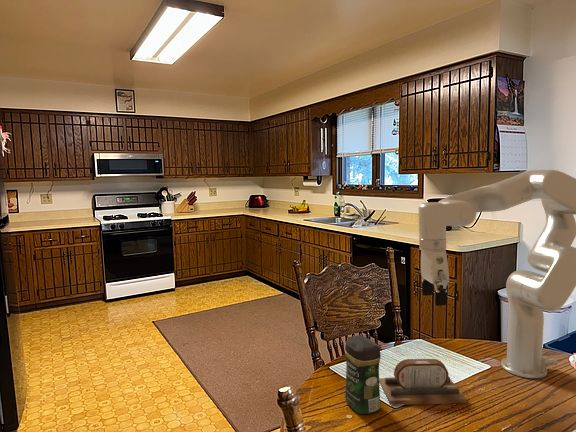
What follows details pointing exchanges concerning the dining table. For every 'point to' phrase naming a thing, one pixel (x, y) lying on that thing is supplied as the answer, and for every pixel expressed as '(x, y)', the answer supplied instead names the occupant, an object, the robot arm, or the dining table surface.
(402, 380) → the tin
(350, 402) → the coffee jar
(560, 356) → the dining table surface
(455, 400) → the holder
